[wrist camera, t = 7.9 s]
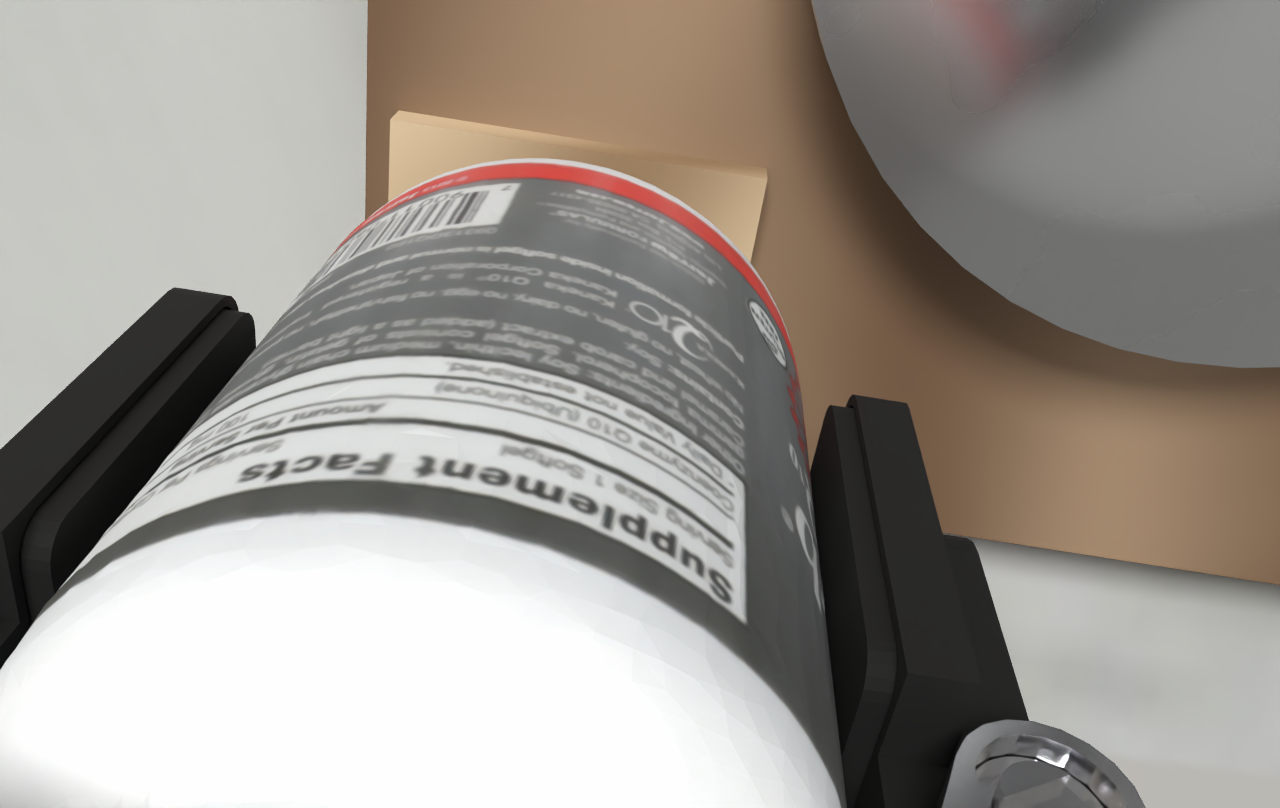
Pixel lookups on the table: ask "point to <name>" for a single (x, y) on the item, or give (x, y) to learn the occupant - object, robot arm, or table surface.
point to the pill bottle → (464, 538)
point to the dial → (1085, 156)
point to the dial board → (842, 266)
